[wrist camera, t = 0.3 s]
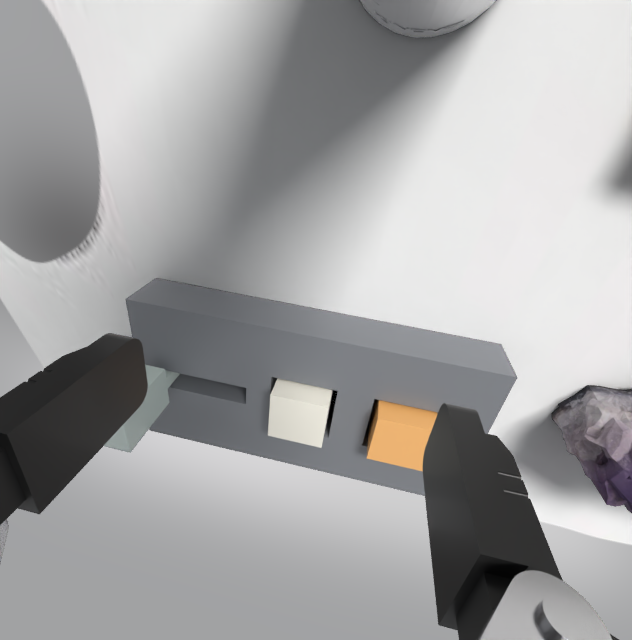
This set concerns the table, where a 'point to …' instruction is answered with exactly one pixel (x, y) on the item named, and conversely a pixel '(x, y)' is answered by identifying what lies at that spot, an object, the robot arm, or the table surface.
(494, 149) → the table surface
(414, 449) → the orange button
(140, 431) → the pale green rectangular block
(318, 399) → the cream button
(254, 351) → the switch panel
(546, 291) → the table surface
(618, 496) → the geode
